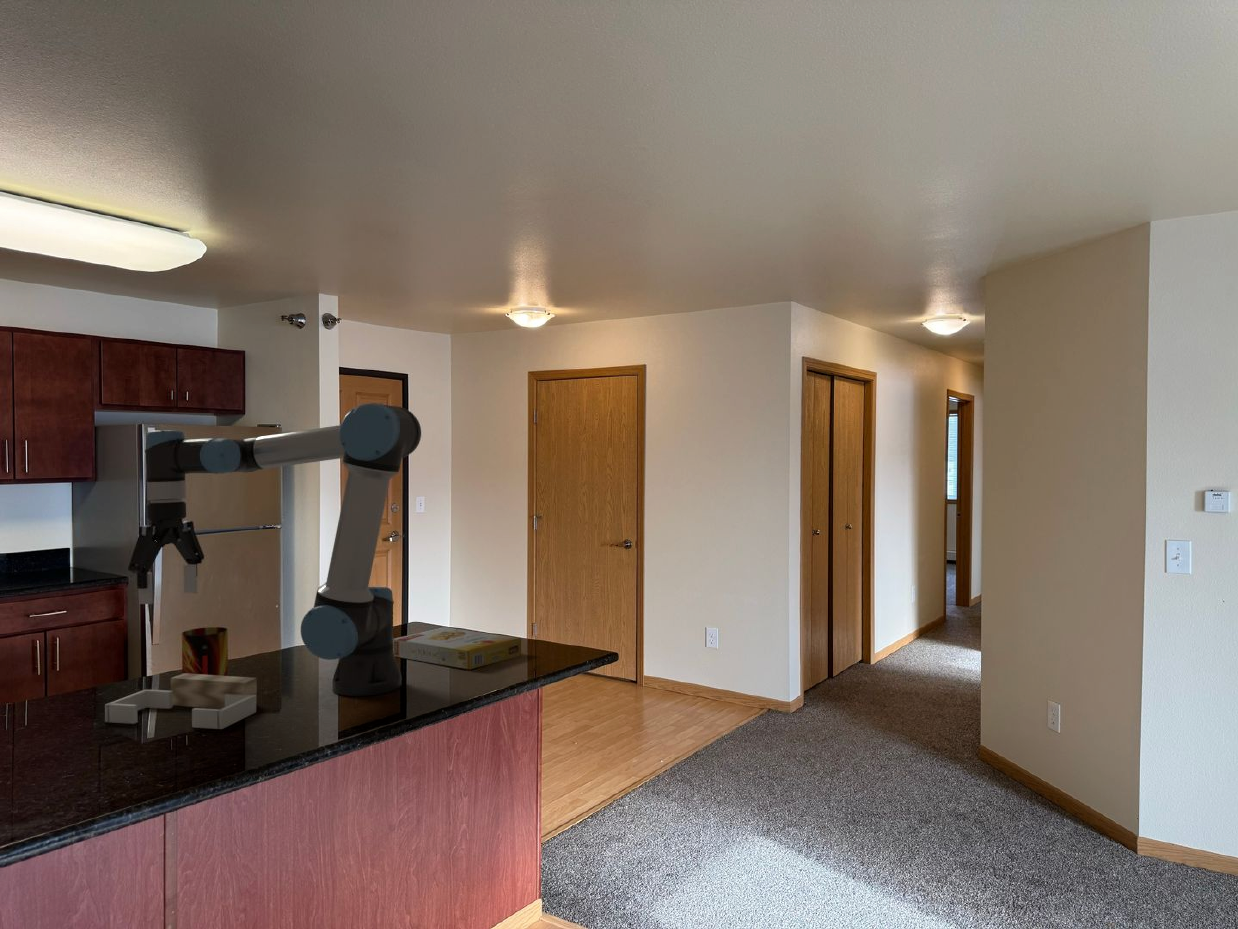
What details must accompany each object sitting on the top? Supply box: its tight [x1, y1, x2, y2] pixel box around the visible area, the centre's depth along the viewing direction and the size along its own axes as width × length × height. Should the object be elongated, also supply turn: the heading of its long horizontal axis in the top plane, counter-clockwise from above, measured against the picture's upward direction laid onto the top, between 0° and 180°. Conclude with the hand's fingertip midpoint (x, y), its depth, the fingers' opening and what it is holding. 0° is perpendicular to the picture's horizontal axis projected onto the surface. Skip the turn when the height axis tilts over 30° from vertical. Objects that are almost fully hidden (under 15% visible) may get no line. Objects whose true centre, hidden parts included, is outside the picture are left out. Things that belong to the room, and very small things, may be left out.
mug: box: [181, 626, 229, 676], centre depth 196 cm, size 10×14×12 cm
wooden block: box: [170, 673, 258, 709], centre depth 179 cm, size 18×4×6 cm, turn 77°
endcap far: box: [104, 688, 174, 725], centre depth 173 cm, size 6×11×4 cm, turn 169°
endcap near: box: [191, 694, 257, 730], centre depth 169 cm, size 6×11×4 cm, turn 170°
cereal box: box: [393, 626, 522, 670], centre depth 222 cm, size 20×6×28 cm
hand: (169, 598), depth 184 cm, fingers open, 13 cm apart
